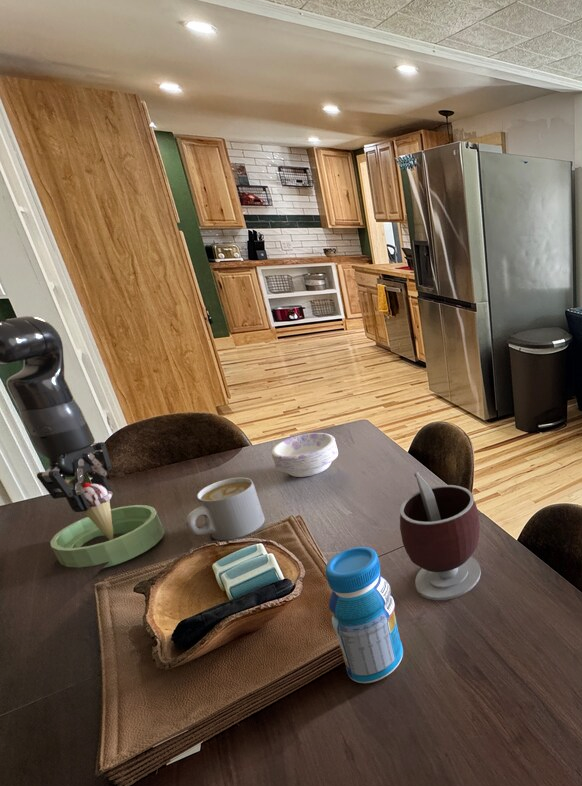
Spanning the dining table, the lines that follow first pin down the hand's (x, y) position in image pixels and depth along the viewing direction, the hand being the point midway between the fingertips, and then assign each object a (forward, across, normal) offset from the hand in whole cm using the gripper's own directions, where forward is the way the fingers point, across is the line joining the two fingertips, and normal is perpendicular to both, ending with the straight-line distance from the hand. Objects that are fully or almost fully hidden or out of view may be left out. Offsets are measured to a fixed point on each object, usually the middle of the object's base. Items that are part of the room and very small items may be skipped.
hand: (93, 501), depth 95 cm
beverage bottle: (+12, +43, +58) cm, 73 cm away
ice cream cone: (+11, 0, 0) cm, 11 cm away
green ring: (+12, 0, 0) cm, 12 cm away
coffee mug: (+12, -2, +20) cm, 24 cm away
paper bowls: (+12, -29, +29) cm, 43 cm away
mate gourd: (+12, +25, +68) cm, 74 cm away
